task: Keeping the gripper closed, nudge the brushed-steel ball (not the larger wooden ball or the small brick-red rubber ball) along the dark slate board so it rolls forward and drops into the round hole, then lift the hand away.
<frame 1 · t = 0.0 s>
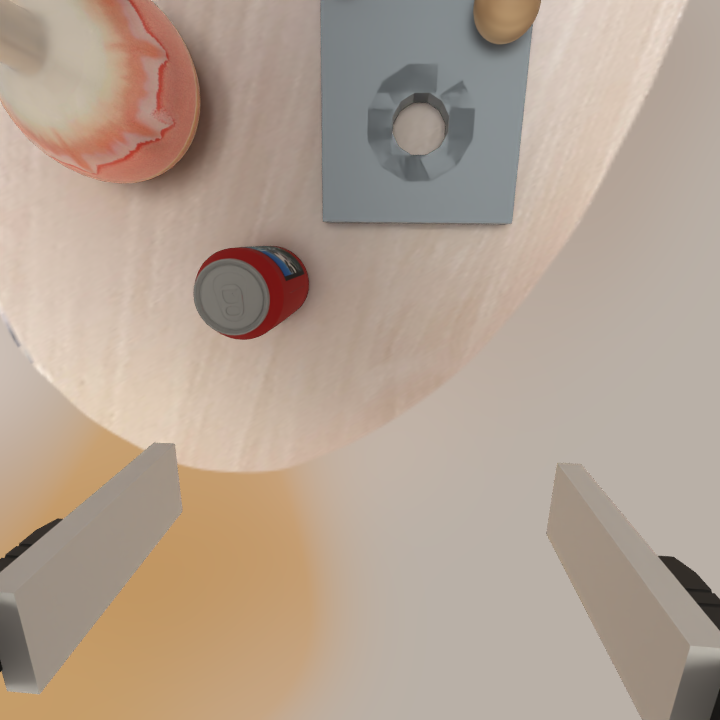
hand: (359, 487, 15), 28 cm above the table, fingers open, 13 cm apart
wooden ball: (506, 4, 30), point 5 cm above the table, touching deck
beverage can: (276, 281, 41), on the table
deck: (421, 65, 35), on the table
vase: (149, 109, 38), on the table
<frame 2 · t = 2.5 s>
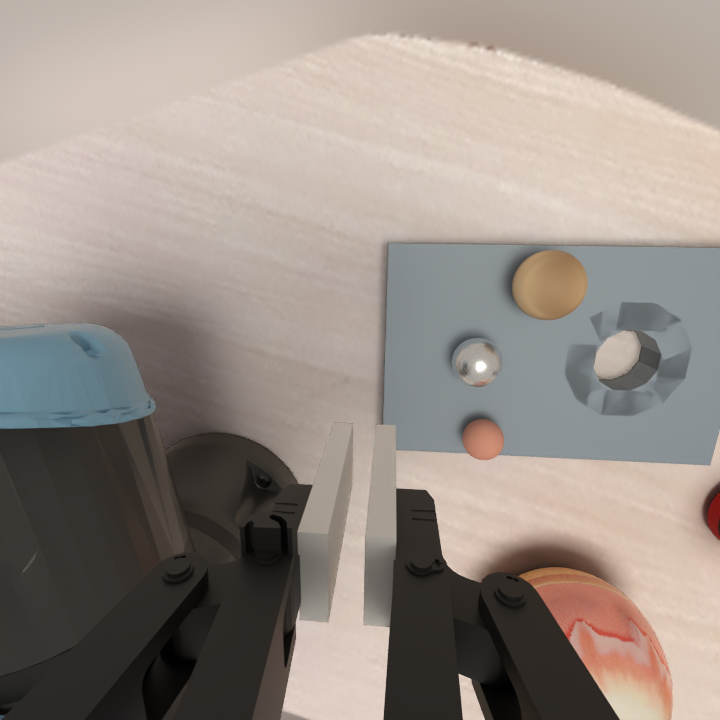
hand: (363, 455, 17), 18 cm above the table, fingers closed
wooden ball: (548, 285, 28), point 5 cm above the table, touching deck
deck: (544, 350, 34), on the table
vase: (542, 597, 40), on the table
rubber ball: (483, 439, 32), point 4 cm above the table, touching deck
steel ball: (477, 362, 30), point 4 cm above the table, touching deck
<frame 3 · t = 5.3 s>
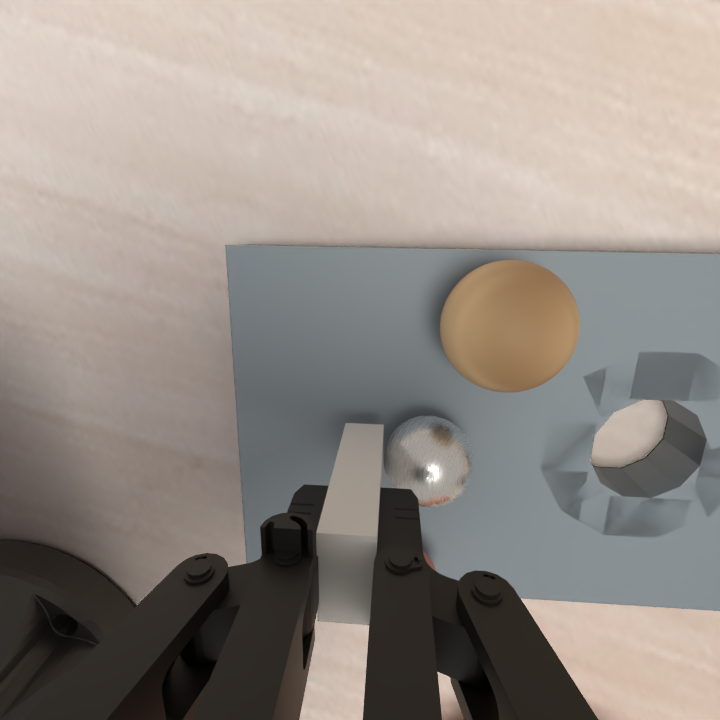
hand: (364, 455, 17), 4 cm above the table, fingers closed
wooden ball: (506, 326, 15), point 5 cm above the table, touching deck
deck: (509, 421, 21), on the table
steel ball: (428, 460, 17), point 4 cm above the table, tilted 54°, touching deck
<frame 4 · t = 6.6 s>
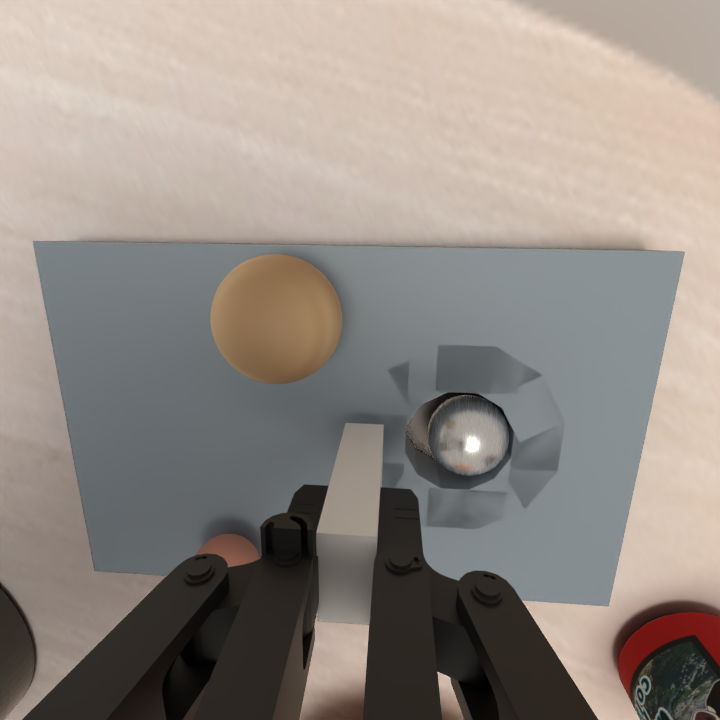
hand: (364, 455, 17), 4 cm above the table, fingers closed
wooden ball: (278, 319, 15), point 5 cm above the table, touching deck
beverage can: (672, 645, 23), on the table
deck: (347, 414, 21), on the table
rubber ball: (226, 569, 19), point 4 cm above the table, touching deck
steel ball: (467, 434, 19), point 2 cm above the table, tilted 79°
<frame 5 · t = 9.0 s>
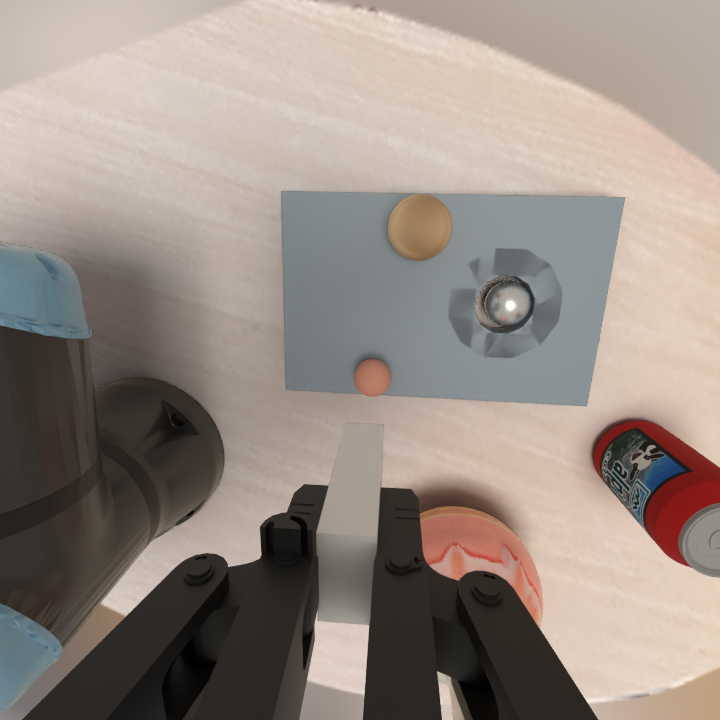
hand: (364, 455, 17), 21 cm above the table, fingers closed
wooden ball: (419, 228, 30), point 5 cm above the table, touching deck
beverage can: (628, 450, 38), on the table
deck: (436, 298, 36), on the table
vase: (449, 540, 43), on the table
rubber ball: (372, 377, 34), point 4 cm above the table, touching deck
steel ball: (507, 303, 34), point 2 cm above the table, tilted 76°
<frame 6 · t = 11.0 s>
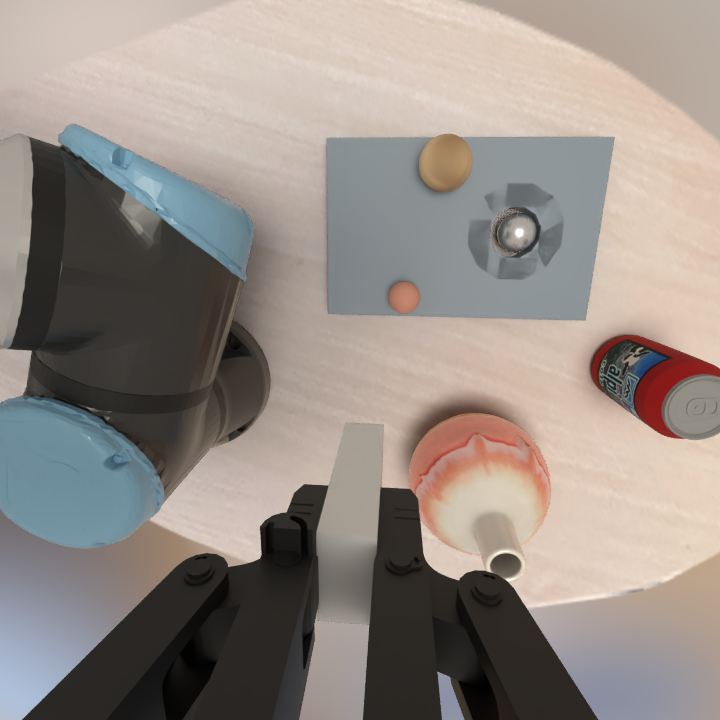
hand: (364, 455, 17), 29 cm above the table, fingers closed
wooden ball: (445, 163, 36), point 5 cm above the table, touching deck
beverage can: (621, 364, 45), on the table
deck: (456, 232, 42), on the table
vase: (467, 452, 49), on the table
rubber ball: (404, 297, 40), point 4 cm above the table, touching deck
steel ball: (516, 232, 40), point 2 cm above the table, tilted 74°
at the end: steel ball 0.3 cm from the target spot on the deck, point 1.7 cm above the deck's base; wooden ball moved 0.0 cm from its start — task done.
